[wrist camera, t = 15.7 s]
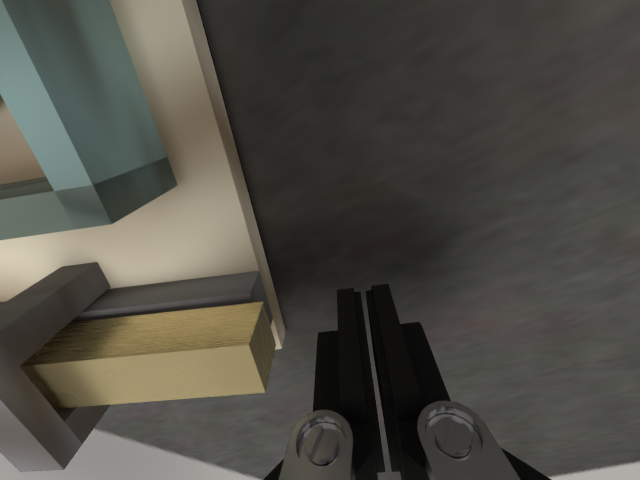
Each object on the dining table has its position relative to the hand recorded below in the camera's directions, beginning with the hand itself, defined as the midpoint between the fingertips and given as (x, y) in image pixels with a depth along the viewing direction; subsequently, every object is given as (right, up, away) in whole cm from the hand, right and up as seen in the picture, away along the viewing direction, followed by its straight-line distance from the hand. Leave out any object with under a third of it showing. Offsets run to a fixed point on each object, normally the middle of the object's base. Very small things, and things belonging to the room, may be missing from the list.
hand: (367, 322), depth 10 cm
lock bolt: (-8, -1, +1) cm, 8 cm away
